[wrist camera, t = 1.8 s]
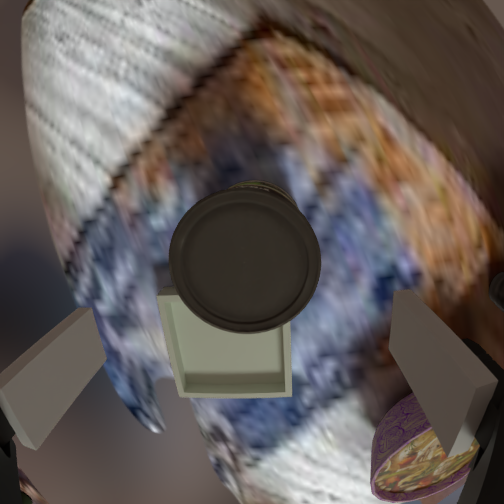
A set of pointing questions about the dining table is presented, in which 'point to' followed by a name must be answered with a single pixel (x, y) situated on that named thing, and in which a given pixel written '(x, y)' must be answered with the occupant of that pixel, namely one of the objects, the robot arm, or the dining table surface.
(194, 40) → the dining table surface
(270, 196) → the coffee can
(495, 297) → the beverage cup
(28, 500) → the character mug
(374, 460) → the bowl of food
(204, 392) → the tray
